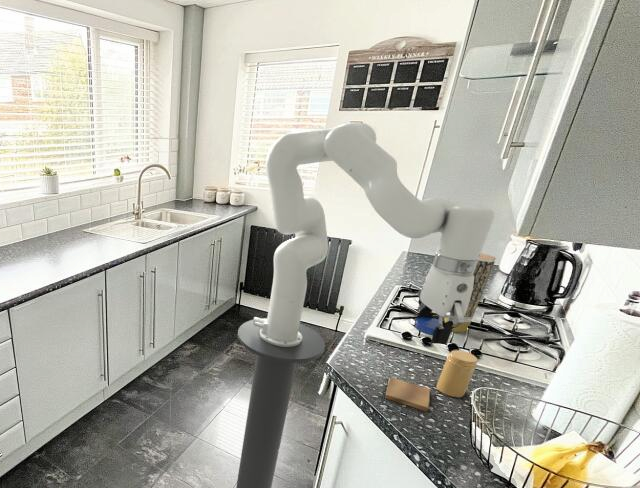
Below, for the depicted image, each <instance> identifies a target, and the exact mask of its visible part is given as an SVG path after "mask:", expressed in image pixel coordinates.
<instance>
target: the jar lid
mask: <svg viewBox="0 0 640 488" xmlns="http://www.w3.org/2000/svg"><path fill="white" fill-rule="evenodd" d="M415 321H416V320H415ZM414 324H415V327H414V328H415V329H416V330H417V331H419V332H420V333H422V334H425V335H428V336H432V337H433V334H434V331H435V328H436V327H439V318H433V317H432V318H428V317H421V318H418V319H417V321H416V323H415V322H414Z"/></svg>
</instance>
